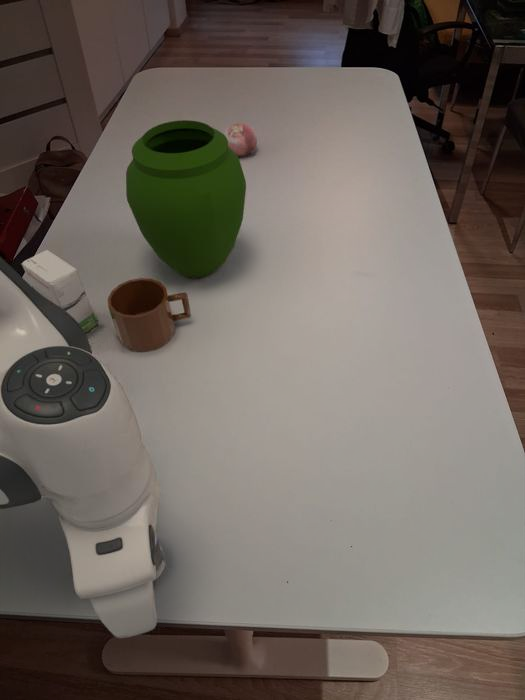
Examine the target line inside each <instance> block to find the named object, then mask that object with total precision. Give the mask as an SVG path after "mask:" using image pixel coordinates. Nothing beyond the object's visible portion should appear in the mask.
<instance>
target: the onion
mask: <svg viewBox="0 0 525 700" xmlns="http://www.w3.org/2000/svg"><path fill="white" fill-rule="evenodd" d="M223 134H224V135H225V136H226V138H227V140H228V147H229V148H230V149H231V150H232V151H233V152H234V153H235V154H236V155H237V156H238V158H241V157H247V156H248V155H250V154H251V153H252V152H253V151H254V150H255V148H256V147H257V144H258V137H257V132H256V131H255V129H254V128H253V127H252V126H251V125H249V124H247V123H243V122H238V123H237V122H236V123H233V124H230V125H229V126H228V127H226V129H225V130H224V133H223Z"/></svg>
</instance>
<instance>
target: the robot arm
mask: <svg viewBox="0 0 525 700" xmlns="http://www.w3.org/2000/svg"><path fill="white" fill-rule="evenodd" d="M44 497H46V498H49V499H50V500H51V503H52V504H53V506H54V508H55V509H56V510H57V512H58V514H59V522H60V525H61V528H62V530H63V533H64V537H65V540H66V543H67V549H68V557H69V562H70V570H71V575H72V581H73V588H74V592H75V594H76V595H77V596H78V597H79V598H80V599H90V603H91V605H92V608H93V610H94V612H95V614H96V616H97V617H98V619H99V621H100V622H101V623H102V624H103V625H104V626H105V628H107V630H108V631H109V633H111V634H112V636H113V637H116V638H117V639H126V638H131V637H135V636H139V635H142V634H146V633H148V632H150V631H153V630H154V629H155V628H156V626H157V623H158V616H157V609H156V601H155V593H154V581H155V580H156V579H155V577H156V567H155V565H156V555H155V532H156V527H157V519H158V507H159V504H160V500H161V486H160V482H159V478H158V477H157V474H156V471H155V467H154V465H153V462H152V459H151V456H150V454H149V451H148V449H147V448H146V445H144V443H143V441H142V432H141V428H140V424H139V422H138V419H137V416H136V414H135V411H134V408H133V406H132V404H131V401H130V399H129V398H128V396H127V393H126V392H125V389H124V388H123V386H122V385H121V382H119V380H118V379H117V377H116V375H115V374H114V373H113V372H112V371H111V370H110V368H109V367H108V366H107V365H106V364H105V363H104V362H103V361H102V360H100V358H98V357H97V356H96V355H94V354H93V351H92V347H91V344H90V342H89V339H88V337H87V335H86V333H84V331H83V329H82V327H81V326H80V325H79V323H78V322H77V321H76V320H75V319H74V318H73V317H72V316H71V315H70V314H69V313H67V312H66V311H65V310H63V309H62V308H60V307H59V306H58V305H56V304H55V303H53V302H52V301H50V300H49V299H47V298H46V297H44V296H43V295H41V294H40V293H39V292H37V291H36V290H35V289H34V288H33V287H32V285H31V284H30V283H28V281H26V280H25V279H24V278H23V277H22V276H21V275H20V273H18V272H17V271H16V270H15V269H14V268H13V267H12V266H11V265H10V264H8V263H7V262H6V261H5V259H4V258H2V256H0V510H4V509H5V510H6V509H10V508H15V507H16V508H17V507H21V506H26V505H31V504H34V503H37V502H38V501H41V500H42V498H44ZM154 579H155V580H154ZM152 580H154V581H152Z"/></svg>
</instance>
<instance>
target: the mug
mask: <svg viewBox="0 0 525 700" xmlns="http://www.w3.org/2000/svg"><path fill="white" fill-rule="evenodd" d="M167 290H168V289H167V287H166V286H165V285H164V283H162V282H161V281H159V280H156V279H153V278H148V277H147V278H145V277H140V278H133V279H128V280H127V281H125V282H122V283H120V284H118V285H117V286H116V287H115V288H113V289H112V290H111V291H110V294H109V295H108V297H107V307H108V310H109V313H110V316H111V320H112V322H113V326H114V328H115V331H116V335H117V338H118V339H119V342H120V343H121V345H122V346H123V347H124V348H126V349H128V350H130V351H132V352H137V353H138V352H139V353H145V352H151V351H155V350H158V349H160V348H162V347H164V346H165V345H166V344H168V342H170V341H171V339H172V338H173V336H174V334H175V329H176V328H175V322H176V321H181V320H186V319H187V320H188V319H190V318H191V317H192V312H191V305H190V302H189V296H188V293H186V292H179V293H173V294H169V295H168V291H167ZM176 301H177V302H178V301H181V302H182V303H181V304H182V307H183V308H182V309H183V312H180V313H176V314H175V313H174V314H173V312H172V309H171V304H170V302H176Z"/></svg>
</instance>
